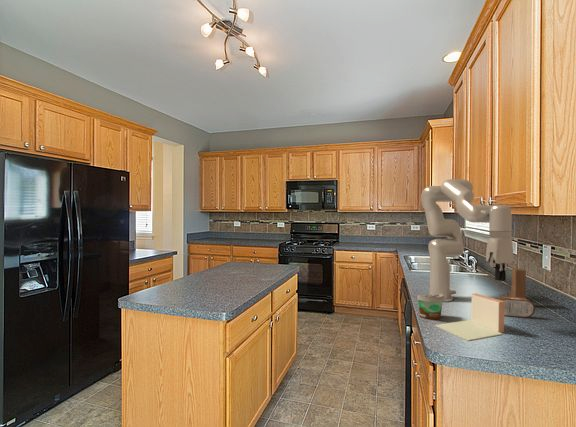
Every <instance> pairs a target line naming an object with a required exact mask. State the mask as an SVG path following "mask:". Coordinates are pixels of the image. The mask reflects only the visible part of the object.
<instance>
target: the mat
mask: <svg viewBox="0 0 576 427" xmlns="http://www.w3.org/2000/svg"><path fill="white" fill-rule="evenodd" d="M434 325H435V327H437V328H438V329H441V330H443V331H445V332H447V333H449V334H451V335H454V336H456V337H459V338H460V339H463V340H464V341H466V342H470V341H476V340H482V339H487V338H491V337H496V336H497V337H498V336H502V335H503V332H502V333H500V332H497V331H494V330H492V329H489V328H487V327H484V326H481V325H479V324H476V323H474V322H471V320H468V319H466V320H459V321H458V320H457V321H452V322H447V323H442V324H441V323H439V324H434Z"/></svg>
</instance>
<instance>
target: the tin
mask: <svg viewBox="0 0 576 427" xmlns="http://www.w3.org/2000/svg"><path fill="white" fill-rule="evenodd" d="M497 299H498V300H501V301H504V317H513V318H524V319H525V318H531V317H532V316H533V315H534V314H535V312H536V307H535V305H534V303H533V302H532V301H531V300H530V299H528V298H526V297H525V298H518V297H507V295H506V296H505V295H504V296H499V297H498V298H497Z"/></svg>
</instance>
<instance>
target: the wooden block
mask: <svg viewBox="0 0 576 427" xmlns="http://www.w3.org/2000/svg"><path fill="white" fill-rule="evenodd" d="M526 272H527V270H526V269H523V268H511V288H510V292H507V293H506V294H507V295H506V297H518V298H526V292H527V290H526V289H527V288H526V287H527V286H526V284H527V280H526V279H527V277H526V276H527V275H526V274H527V273H526Z"/></svg>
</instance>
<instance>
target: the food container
mask: <svg viewBox="0 0 576 427" xmlns="http://www.w3.org/2000/svg"><path fill="white" fill-rule="evenodd" d="M416 297H417V298H416V299H417V301H418V313H419V318H421V319H424V320H429V321H438V320H441V318H442V308H443V302H444V296H443V294H441V293H439V295H427V294H426V295H421V294H418V295H417V296H416Z"/></svg>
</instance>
